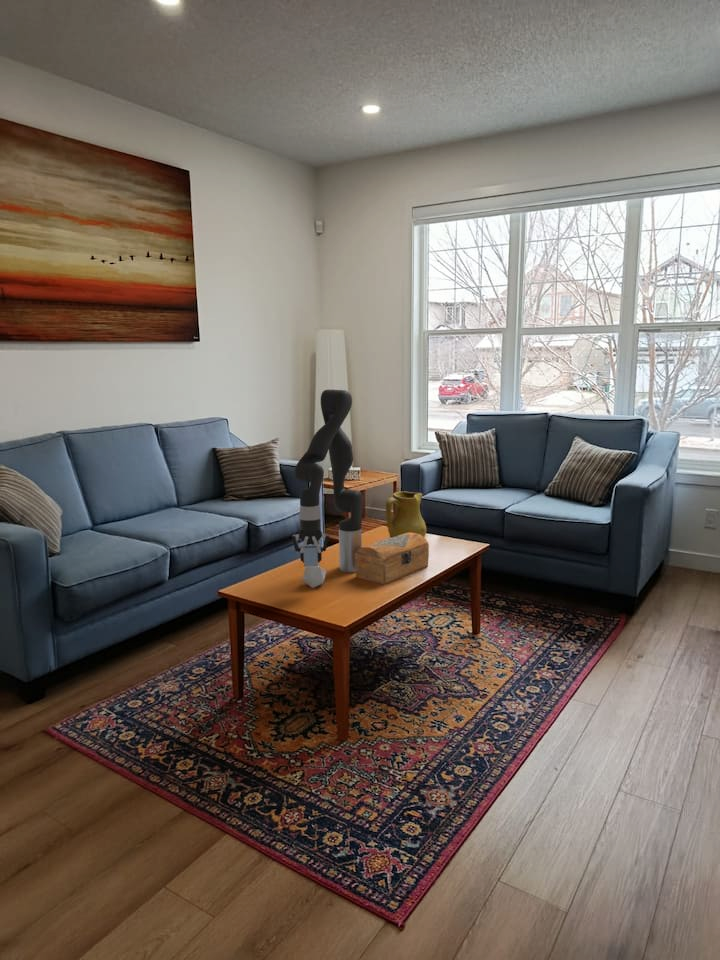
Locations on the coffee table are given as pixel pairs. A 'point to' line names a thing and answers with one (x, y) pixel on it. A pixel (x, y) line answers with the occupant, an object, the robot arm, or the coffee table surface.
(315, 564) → the block
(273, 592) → the coffee table surface
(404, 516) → the pitcher
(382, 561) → the wooden box
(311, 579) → the die
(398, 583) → the coffee table surface
